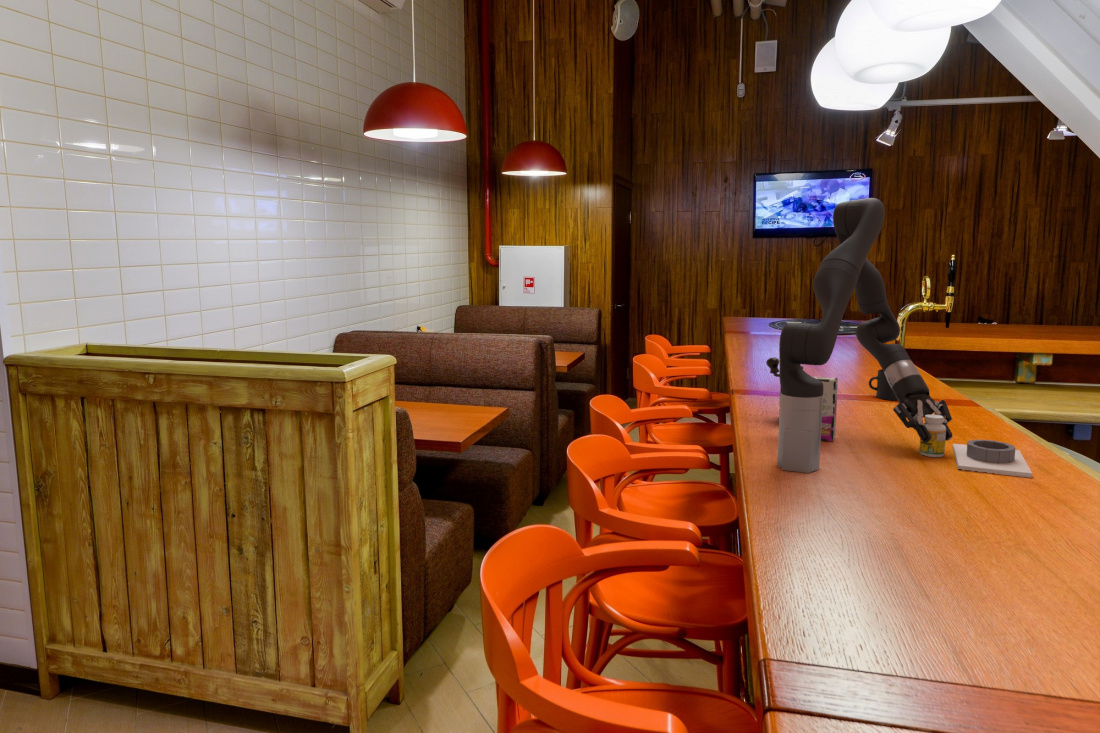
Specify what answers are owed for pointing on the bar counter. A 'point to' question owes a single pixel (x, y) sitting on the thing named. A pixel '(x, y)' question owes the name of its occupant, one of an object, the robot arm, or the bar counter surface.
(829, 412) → the candy bar box
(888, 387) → the mug
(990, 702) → the bar counter surface
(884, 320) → the robot arm
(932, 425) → the supplement bottle
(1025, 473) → the socket plate
